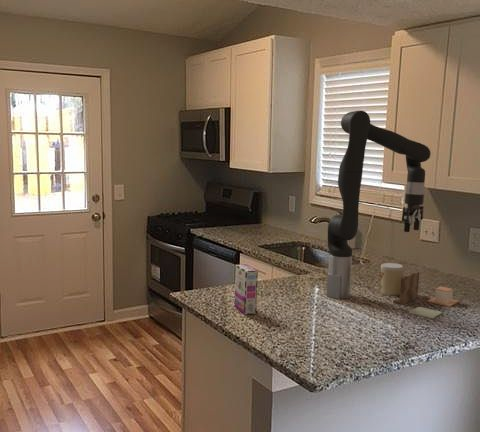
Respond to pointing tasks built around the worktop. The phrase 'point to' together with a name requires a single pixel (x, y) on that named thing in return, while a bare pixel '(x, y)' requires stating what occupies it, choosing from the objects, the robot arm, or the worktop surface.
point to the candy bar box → (246, 289)
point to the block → (443, 294)
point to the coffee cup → (391, 278)
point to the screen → (408, 288)
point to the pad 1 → (426, 312)
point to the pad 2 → (443, 303)
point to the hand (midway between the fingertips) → (411, 231)
